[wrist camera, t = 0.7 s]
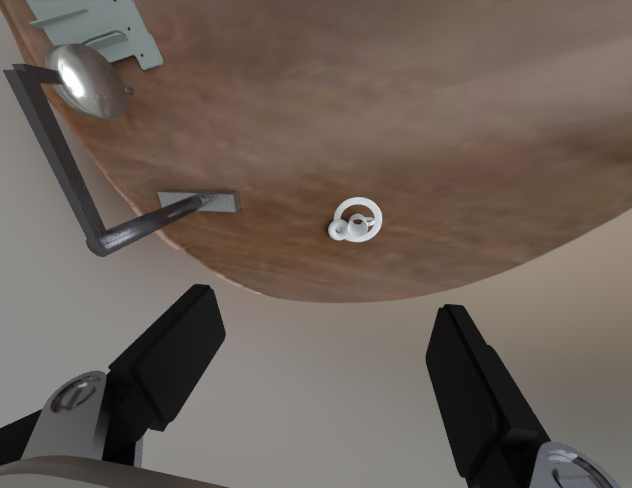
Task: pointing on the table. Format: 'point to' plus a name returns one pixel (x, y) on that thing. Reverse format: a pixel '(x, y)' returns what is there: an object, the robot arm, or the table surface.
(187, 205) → the metal desk lamp
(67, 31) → the metal bracket
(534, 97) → the table surface
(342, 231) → the white ring with cylinder
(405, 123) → the table surface
